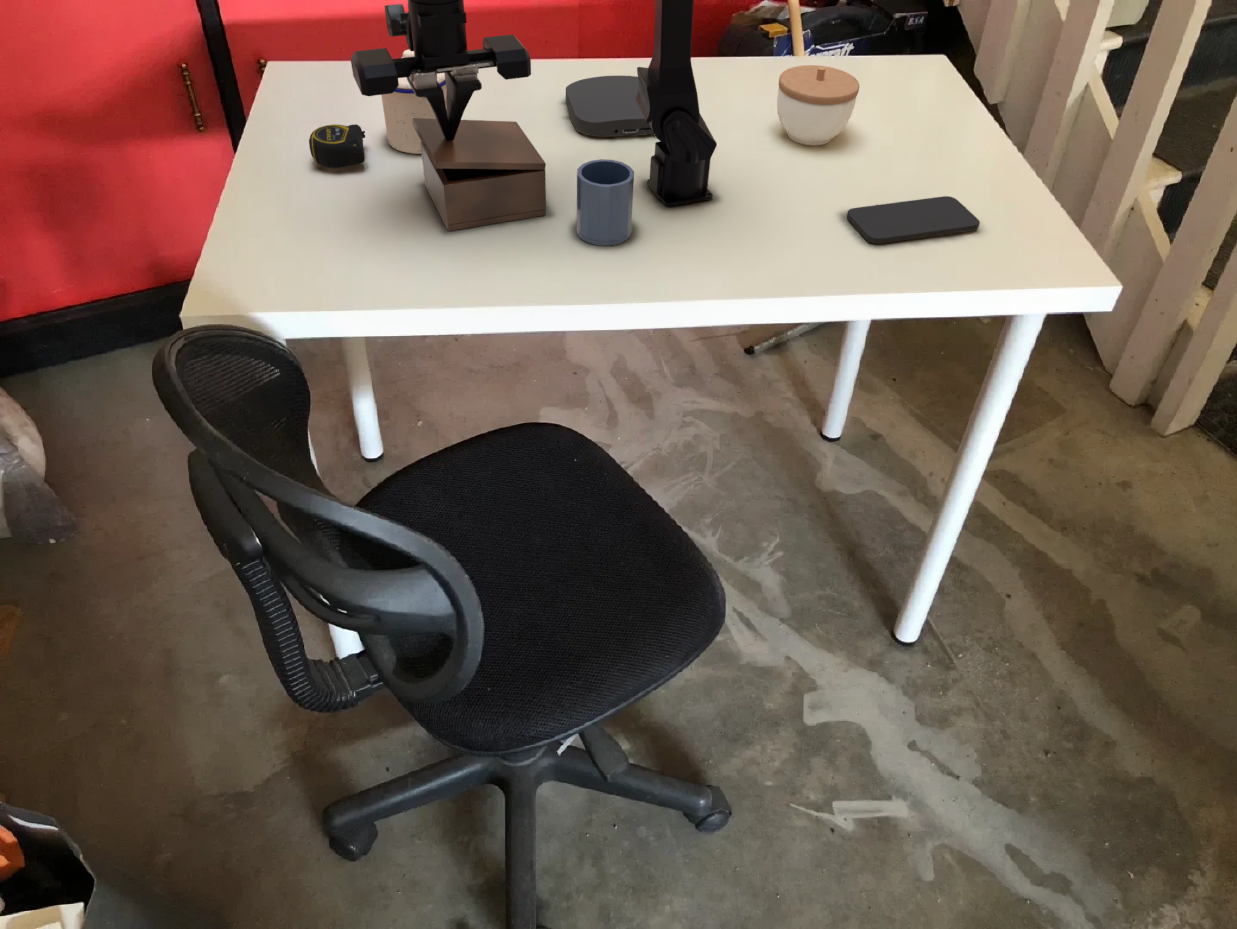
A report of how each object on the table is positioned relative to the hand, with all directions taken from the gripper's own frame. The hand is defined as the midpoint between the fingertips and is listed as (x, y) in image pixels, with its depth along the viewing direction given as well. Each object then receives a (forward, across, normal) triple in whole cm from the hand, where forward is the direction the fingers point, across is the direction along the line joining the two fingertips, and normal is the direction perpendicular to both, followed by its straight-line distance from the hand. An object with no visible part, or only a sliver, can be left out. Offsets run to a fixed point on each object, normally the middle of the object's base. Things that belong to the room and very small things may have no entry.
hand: (449, 139), depth 108 cm
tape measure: (+8, +10, -16) cm, 21 cm away
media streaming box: (+8, -28, -18) cm, 35 cm away
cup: (+8, -15, +12) cm, 21 cm away
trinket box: (+8, -52, -4) cm, 52 cm away
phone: (+8, -52, +22) cm, 56 cm away
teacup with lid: (+8, 0, -20) cm, 21 cm away
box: (+8, -4, 0) cm, 9 cm away
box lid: (+1, -3, 0) cm, 4 cm away
